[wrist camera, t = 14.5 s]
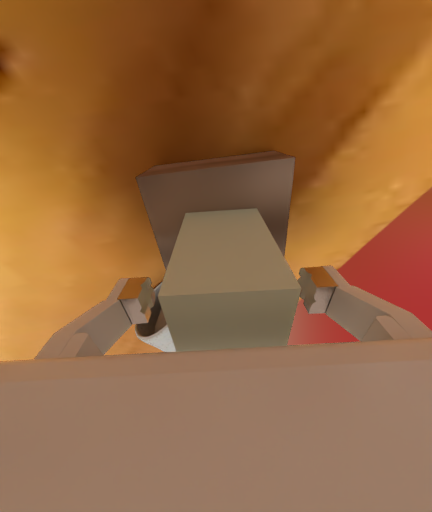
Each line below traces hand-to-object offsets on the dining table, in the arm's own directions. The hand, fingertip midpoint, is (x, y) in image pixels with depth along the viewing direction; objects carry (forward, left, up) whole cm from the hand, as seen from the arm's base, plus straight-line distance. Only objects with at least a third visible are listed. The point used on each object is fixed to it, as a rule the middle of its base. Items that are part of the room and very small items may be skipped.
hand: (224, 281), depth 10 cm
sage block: (0, 0, -5) cm, 5 cm away
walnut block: (0, 0, -10) cm, 10 cm away
